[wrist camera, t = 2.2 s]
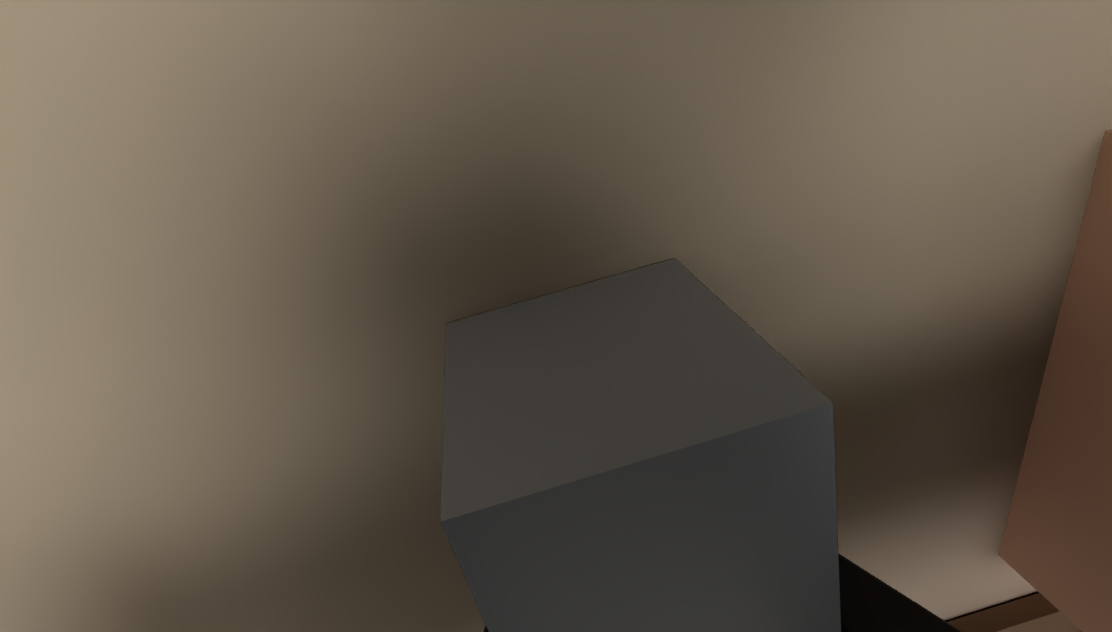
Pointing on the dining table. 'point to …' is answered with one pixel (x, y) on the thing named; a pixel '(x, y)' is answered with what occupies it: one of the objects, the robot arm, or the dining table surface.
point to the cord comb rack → (1017, 618)
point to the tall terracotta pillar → (1073, 437)
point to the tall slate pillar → (637, 465)
